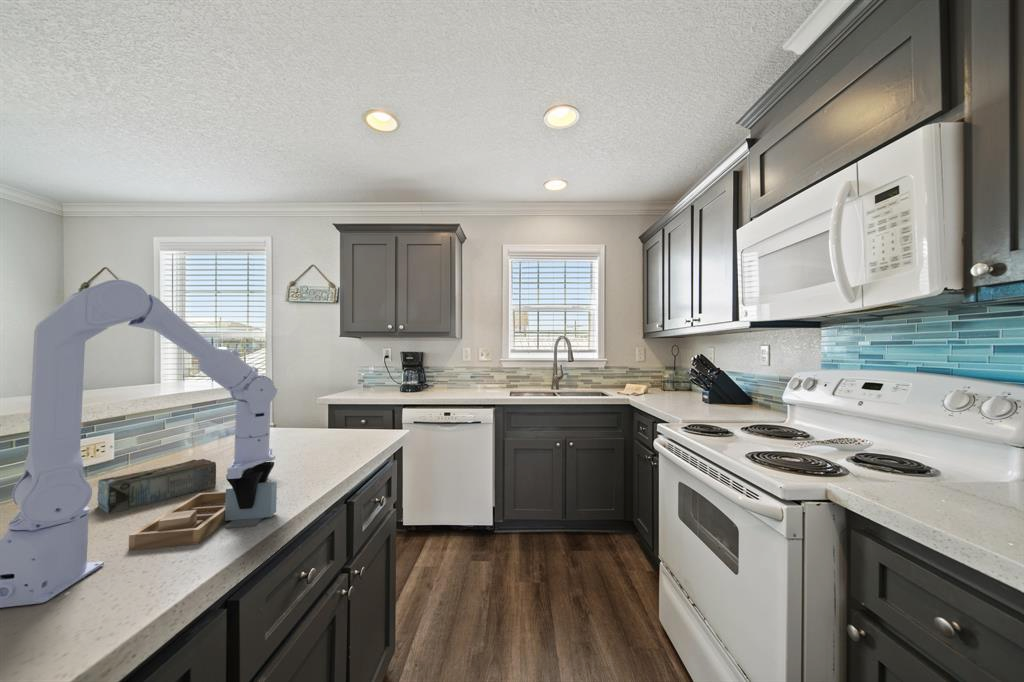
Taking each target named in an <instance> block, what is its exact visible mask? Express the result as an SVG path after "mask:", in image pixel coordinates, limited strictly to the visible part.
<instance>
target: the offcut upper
mask: <svg viewBox="0 0 1024 682" xmlns="http://www.w3.org/2000/svg"><path fill="white" fill-rule="evenodd" d="M197 515H198V513H197V510H190V511H182V512H174V513H168V514H167V515H166V516H164V517H163V518H162V519H161V520H160V521H159V531H164V530H176V529H188V528H190V527H191V526H192V525H193V524H194V523H195V522H196V521H197Z"/></svg>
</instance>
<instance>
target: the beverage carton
mask: <svg viewBox="0 0 1024 682" xmlns="http://www.w3.org/2000/svg"><path fill="white" fill-rule="evenodd" d="M211 487H212V488H215V487H217V463H216V461H211V460H210V459H209V460H208V459H204V458H202V459H192V460H188V461H185V462H181V463H177V464H176V463H175V464H172V465H169V466H162V467H157V468H153V469H149V470H144V471H143V470H142V471H137V472H133V473H130V474H124V475H119V476H111V477H107V478H101V479H99V480H98V482H97V488H98V489H97V490H98V491H97V507H98V508H99V507H100V509H101V510H102V511H104V512H105V513H106V514H112V513H115V512H121V511H125V510H129V509H133V508H137V507H140V506H145V505H149V504H153V503H157V502H161V501H164V500H168V499H172V498H176V497H181V496H183V495H187V494H192V493H196V492H198V491H203V490H208V489H211ZM207 488H208V489H207Z"/></svg>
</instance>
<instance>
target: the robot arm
mask: <svg viewBox="0 0 1024 682" xmlns="http://www.w3.org/2000/svg"><path fill="white" fill-rule="evenodd" d="M127 322H129V323H128V324H127V325H128V327H130V326H131V327H133V328H134V327H136V328H140V329H141V328H142V329H146V330H152V331H155V332H156V333H158V334H160V335H162V337H164V338H166V339H167V340H168V341H170V342H171V343H173V344H174V345H176V346H178V347H179V348H181V350H183V351H185V352H186V353H188V354H189V355H190V356H192V357H193V358H195V359H197V361H198V370H199V371H200V372H201V373H203V374H204V375H206V376H207V377H208V378H210V379H211V380H212V381H214V382H215V383H217V384H218V385H220V386H221V387H222V388H224V389H225V390H226V391H228V392H229V394H230V397H231V398H232V399H233V400H236V401H235V406H236V407H235V422H234V423H235V426H234V427H235V429H234V431H235V432H234V455H233V457H234V458H233V459H232V462H231V465H230V466H229V467H228V468H227V473H226V481H227V482H228V484H230V486H232V488H233V490H234V492H235V495H236V499H237V502H238V506H239V509H250V508H252V507H253V505H254V501H255V495H256V489H257V485H258V483H267V482H268V478H269V476H270V474H271V471H272V470H273V468H274V466H275V462H274V460H276V455H275V454H273V448H270V435H271V434H270V433H271V432H270V431H271V402H272V401H273V400H274V399H275V397H276V395H277V392H278V388H276V387H275V386H276V385H274V384H275V383H274V381H273V380H272V379H271V378H270V377H268V376H266V375H262V374H261V375H259V374H258V372H259V370H260V369H258V368H257V367H256V366H251V365H249V364H248V363H247V362H245V360H243V359H242V358H241V357H240V355H241V354H240V352H239V351H237V350H236V349H229V348H228V347H225V346H224V347H223V346H221V347H215V345H213V344H211V343H210V342H209V341H208V340H207V339H206V338H205V337H204V336H202V335H201V334H200V333H199V332H198V331H196V330H195V329H194V328H193V327H192V326H190V325H189V324H188V322H186V321H185V320H183V319H182V317H180V316H179V315H178V314H176V313H175V312H174V311H173V310H172V309H171V308H170V307H168V306H167V305H166V303H164V302H163V301H162V300H161V299H159V298H158V297H156V296H155V295H153V294H149V293H148V292H146V290H145V289H144V288H143V287H142V286H140V284H137V283H135V282H133V281H130V280H126V279H117V278H116V279H110V280H106V281H103V282H100V283H98V284H95V285H93V286H90V287H87V288H85V289H83V290H80V291H78V292H74V293H73V294H71V295H69V296H68V298H67V299H65V300H64V301H63V302H62V303H61V304H60V305H59V306H56V308H54V309H53V310H52V311H51V312H50V313H49V314H48V315H46V316H45V317H44V318H42V319H41V320H40V321H39V322H38V323H37V324H36V326H35V328H34V331H33V332H34V333H33V335H34V336H33V352H32V353H33V355H32V356H33V357H32V373H31V394H30V412H29V413H30V415H29V434H28V450H27V451H28V453H27V454H26V455H27V456H26V458H25V460H24V469H23V474H22V476H21V477H20V479H18V481H17V483H16V484H15V485H14V487H13V489H12V491H11V493H12V494H11V498H12V501H13V502H14V504H15V505H16V506H17V507H18V508H19V512H18V513H17V514H16V515H15V516H14V518H12V520H10V521H9V523H8V529H7V531H6V533H5V534H4V535H3V536H2V537H1V538H0V609H1V608H10V607H17V606H19V607H20V606H27V605H36V604H37V605H38V604H42V603H45V602H48V601H49V600H51V599H52V598H54V597H56V596H57V595H59V594H60V593H62V592H63V591H65V590H66V589H68V588H70V587H71V586H73V585H75V584H76V583H77V582H79V581H81V580H82V579H83V578H85V577H86V576H88V575H90V574H91V573H93V572H95V571H96V570H98V569H99V568H100V567H102V566H104V564H105V561H104V560H102V561H101V560H100V561H92V562H90V561H89V562H88V546H89V545H88V542H89V541H88V539H89V519H90V518H89V517H90V512H89V511H90V507H89V506H88V504H89V503H90V501H91V500H92V497H93V496H92V495H93V488H92V486H91V484H90V482H89V481H87V479H86V478H85V476H84V463H83V457H82V451H81V439H82V437H81V436H82V435H81V434H82V419H83V418H82V417H83V416H82V415H83V396H84V395H83V392H84V389H83V388H84V373H85V371H84V369H85V368H84V367H85V349H86V348H85V347H86V342H87V341H88V340H90V339H92V338H94V337H95V336H96V335H98V334H101V333H102V332H104V331H106V330H107V329H108V328H110V327H113V326H117V325H120V324H124V323H127Z"/></svg>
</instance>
